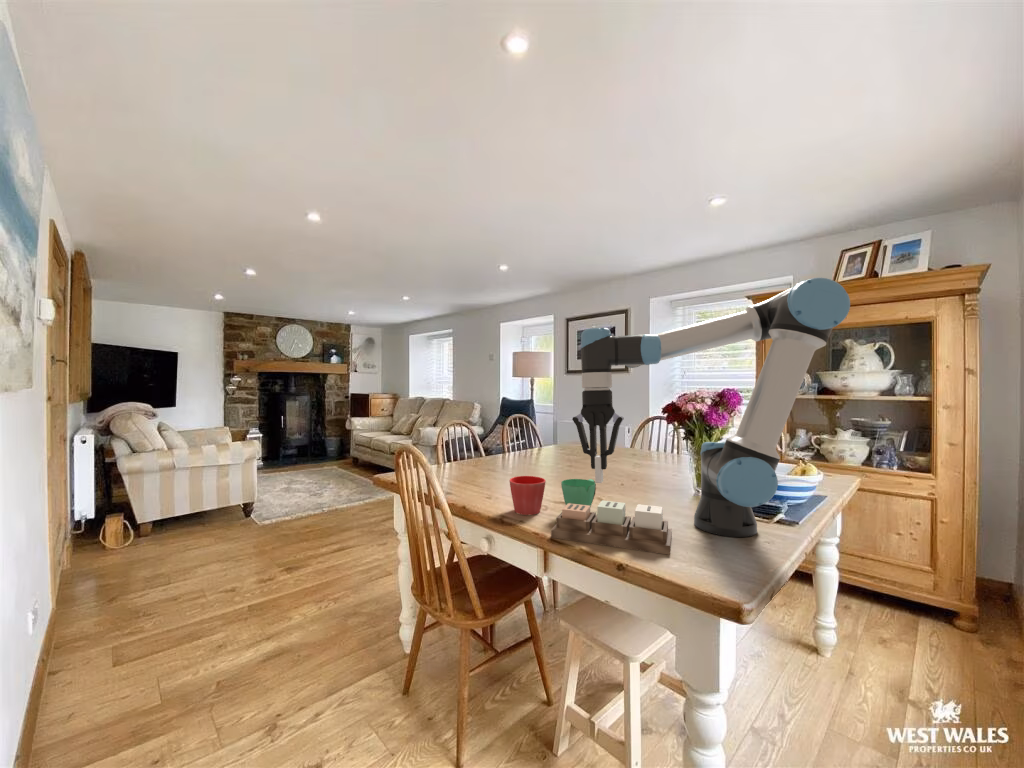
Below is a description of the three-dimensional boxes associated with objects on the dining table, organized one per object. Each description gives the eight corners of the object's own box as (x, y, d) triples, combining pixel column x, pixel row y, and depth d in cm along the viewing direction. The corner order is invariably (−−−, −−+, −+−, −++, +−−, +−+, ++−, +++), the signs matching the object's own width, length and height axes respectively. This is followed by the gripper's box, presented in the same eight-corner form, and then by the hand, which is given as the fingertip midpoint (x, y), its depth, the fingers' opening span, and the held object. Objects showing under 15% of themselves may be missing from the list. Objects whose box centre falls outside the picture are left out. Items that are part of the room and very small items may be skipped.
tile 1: (662, 523, 104) (662, 506, 104) (661, 530, 99) (661, 513, 99) (637, 520, 106) (637, 503, 106) (634, 527, 101) (634, 510, 101)
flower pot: (546, 517, 122) (546, 483, 122) (509, 517, 122) (509, 483, 122) (544, 506, 133) (544, 475, 133) (509, 506, 133) (509, 475, 133)
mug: (586, 524, 115) (586, 488, 115) (555, 518, 121) (555, 483, 121) (607, 511, 127) (607, 478, 127) (578, 506, 133) (578, 474, 133)
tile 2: (625, 518, 108) (625, 502, 108) (622, 525, 102) (622, 508, 102) (601, 515, 110) (601, 499, 110) (597, 522, 104) (597, 506, 104)
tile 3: (590, 520, 111) (590, 505, 111) (585, 527, 105) (585, 511, 105) (568, 518, 113) (568, 502, 113) (562, 524, 108) (562, 508, 108)
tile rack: (671, 537, 106) (671, 519, 106) (670, 554, 95) (670, 534, 95) (563, 522, 117) (564, 506, 117) (551, 537, 106) (551, 519, 106)
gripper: (625, 388, 108) (627, 480, 108) (575, 389, 113) (577, 477, 113) (620, 389, 101) (623, 486, 101) (568, 390, 107) (570, 483, 106)
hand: (599, 481), depth 107 cm, fingers closed
